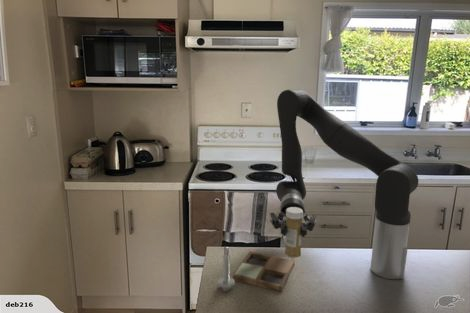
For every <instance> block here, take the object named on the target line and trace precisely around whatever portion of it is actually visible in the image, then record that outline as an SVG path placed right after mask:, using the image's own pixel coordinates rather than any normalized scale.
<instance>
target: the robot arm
mask: <svg viewBox="0 0 470 313" xmlns="http://www.w3.org/2000/svg"><path fill="white" fill-rule="evenodd" d="M276 102H277V103H276V107H277V116H278V122H279V123H278V124H279V130H280V139H281V173H282V174H283V175H285V176H289V177H292V178H294V179H295V181H294V180H293V181H292V180H291V181H289V180H282V181H280V182H278V184H277V185H276V196H277V198H278V201H280V208H279V210H280V212H279V213H278V214H276V213H275V212H270V213H269V214H270V215H269V217H270V218H269V221H270V224H271V225H272V227H273V228H274V230H278V229H280V235H282V236H284V237H286V219H287V217H286V209H287V208H289V207H298V208H301V209H302V210H303V217H302V229H301V234H302V235H301V238H305V237H306V236H307V234H308V231H309V232H312V231H314V228H315V226H316V225H317V215H316V214H312V215H311V216H308V213H306V209H305V203H304V199H305V198H306V195H307V190H306V184H305V182H304V178H303V170H302V166H303V152H302V146H301V143H300V140H299V137H298V134H297V117H298V118H300V119H302V120H304V121H306V122H307V123H308V124H310V125H311V127H313V128H314V129H315V131H316V133H317V134H318V136H319V138H320V139H321V141H322V142H323V144H325V145H326V146H327V147H328V148H330V149H331V150H332V151H333V152H335V153H336V154H338V155H339V156H340V157H342V158H345V159H346V160H348V161H351V162H353V163H354V164H355V163H356V164H357V165H360V166H362V167H364V168H366V169H368V170H370V171H371V172H372V173H373V174H375V175H376V176H377V179H376V182H375V194H374V195H375V197H374V210H375V220H374V221H375V222H374V231H373V240H372V250H371V259H370V270H371V272H373V274H375V275H376V276H379V277H381V278H383V279H387V280H398V279H399V280H400V279H401V280H405V273H406V265H407V255H408V247H407V246H408V240H409V239H408V238H409V234H410V223H411V217H412V216H411V215H412V214H411V212H410V211H409V208H410V207H409V206H410V197H411V194H412V193H413V192H414V191H415V190H416V189H417V188H418V186H419V176H418V174H417V173H416V171H415V170H414V169H413V168H412V167H410V166H409V165H408V164H406V163H404V162H403V161H401V160H399V159H397V158H395V157H393V156H392V155H390V154H388V153H387V152H385V151H384V150H382V149H381V148H380V147H378V146H377V145H376V144H374V143H373V142H372V141H371V140H370V139H368V138H367V137H365V136H364V135H363V134H361V133H360V132H359V131H357V130H356V129H355V128H354V127H352V126H350V124H348V123H347V122H345V121H344V120H342V119H341V118H339V117H338V116H336V115H335V114H333V113H332V112H330V111H328V110H327V109H325V108H324V107H323V106H322V105H321V104H320V103H318V102H317V101H316V100H315V99H314V98H313V97H312V96H311V94H309V93H307V92H306V91H305V90H302V89H285V90H283V91H281V92H280V94H279V95H278V96H277V101H276ZM307 221H308V222H307Z"/></svg>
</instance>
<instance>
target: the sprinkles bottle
mask: <svg viewBox="0 0 470 313" xmlns="http://www.w3.org/2000/svg"><path fill="white" fill-rule="evenodd" d="M286 217H287V219H286V236H285V238H284V240H285V242H284V243H285V250H284V254H285V256H287V257H288V258H293V259H295V258H299V257H300V256H301V254H302V251H301V250H302V249H301V248H302V234H301V229H302V217H303V210H302V209H301V208H298V207H289V208H287V209H286Z"/></svg>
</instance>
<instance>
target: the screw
mask: <svg viewBox="0 0 470 313" xmlns="http://www.w3.org/2000/svg"><path fill="white" fill-rule="evenodd" d="M229 253H230V252H229V247H228V246H224V247H223V255H222V273H223V274H222V277H220V278H219V279H218V280H217V285H218V286H219V287H220V288H221V290H222V291H224V292H228V291H231V288H232V287H234V286H235V284H236V282H235V281H236V280H234V279H233V277H231V276H230V255H229Z"/></svg>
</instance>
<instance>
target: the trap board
mask: <svg viewBox="0 0 470 313" xmlns="http://www.w3.org/2000/svg"><path fill="white" fill-rule="evenodd" d="M294 267H295V260H293V259H289V258H283V257H279V256H274V255H270V254H265V253H264V254H263V253H260V252H254V251H249V252H248V254H247V255H246V256H245V258H244V259H243V261H242V262H241V263H240V264H239V266H238V267H237V268H236V270H235V272H234V273H233V274H232V278H233V279H234V280H235V281H237V282H241V283H245V284H248V285H253V286H256V287H257V286H258V287H261V288H265V289H269V290H274V291H277V292H280V293H283V292H284V288H285V287H286V284H287V282H288V280H289V277H290V276H291V273H292V271H293V269H294Z"/></svg>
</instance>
